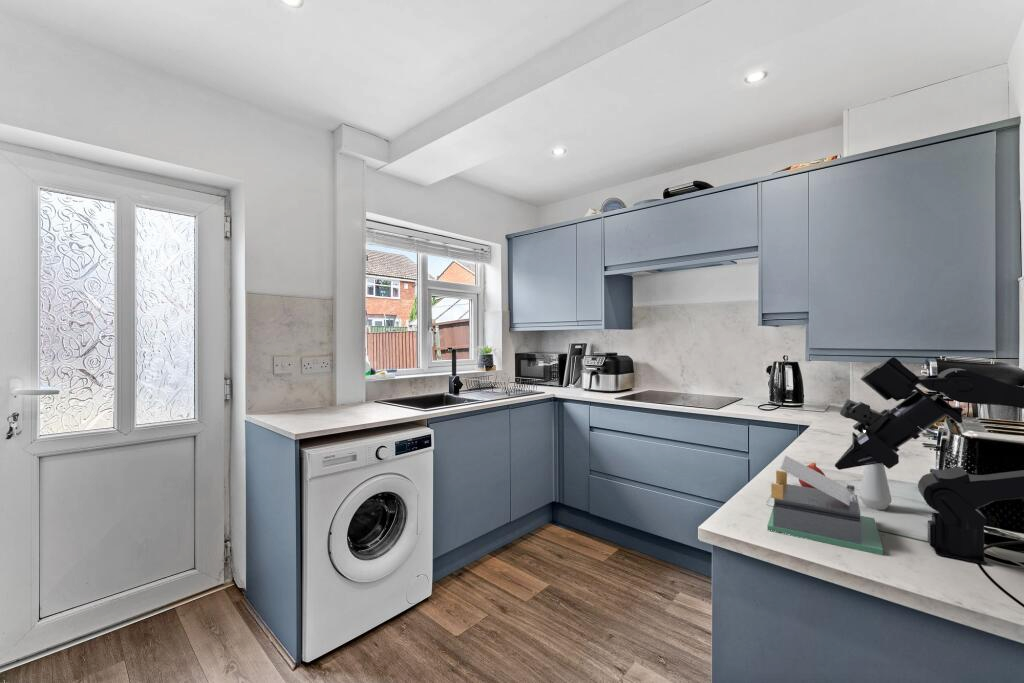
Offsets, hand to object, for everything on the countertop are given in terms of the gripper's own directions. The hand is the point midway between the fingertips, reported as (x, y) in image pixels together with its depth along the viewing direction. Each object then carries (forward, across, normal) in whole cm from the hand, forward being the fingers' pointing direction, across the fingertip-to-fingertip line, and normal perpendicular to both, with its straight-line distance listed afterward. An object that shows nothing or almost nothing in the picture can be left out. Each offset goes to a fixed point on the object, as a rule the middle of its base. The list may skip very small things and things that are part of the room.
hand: (836, 467), depth 89 cm
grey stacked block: (+11, 0, +6) cm, 12 cm away
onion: (+12, -22, +6) cm, 26 cm away
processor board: (+11, 0, +7) cm, 13 cm away
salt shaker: (+4, -20, +14) cm, 25 cm away
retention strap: (+5, 0, 0) cm, 5 cm away
